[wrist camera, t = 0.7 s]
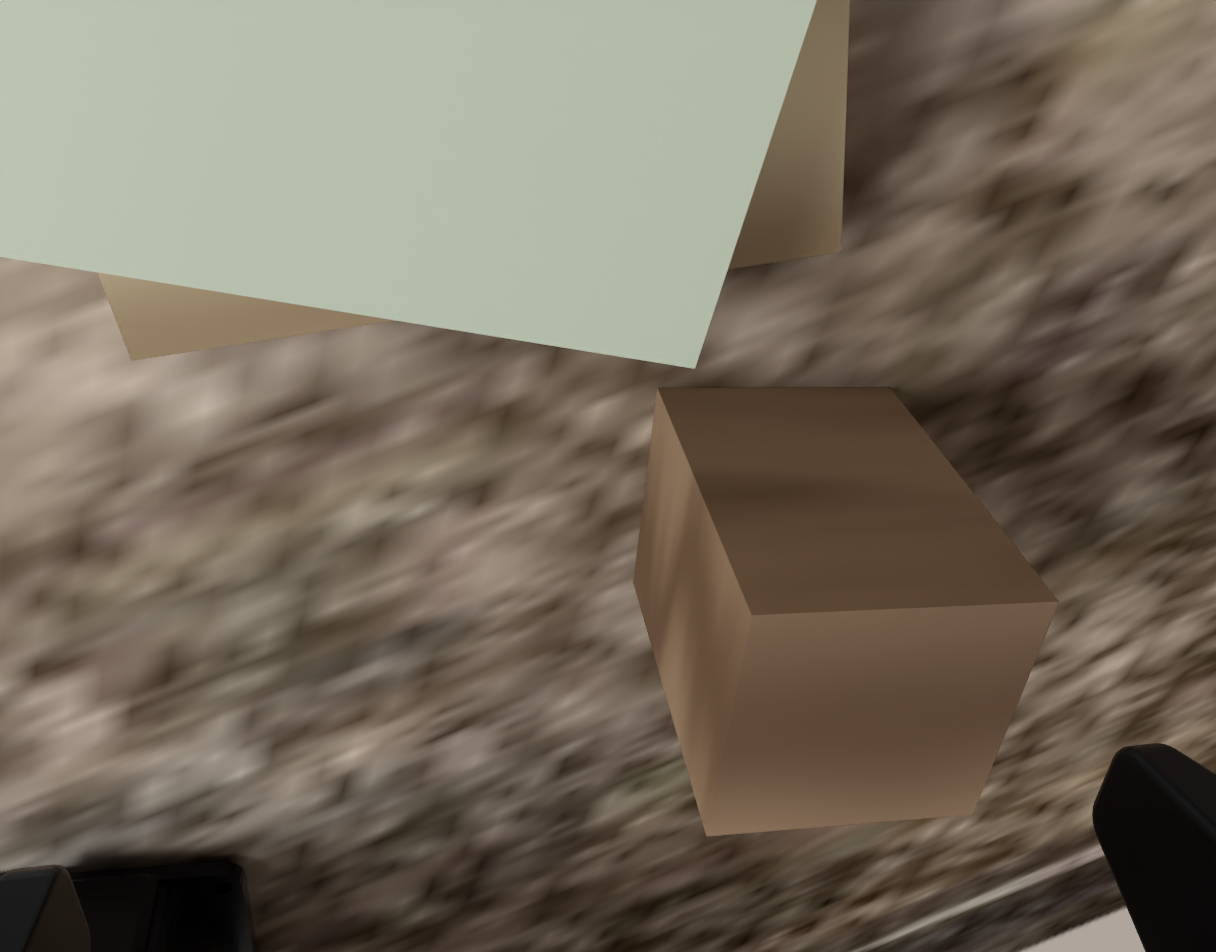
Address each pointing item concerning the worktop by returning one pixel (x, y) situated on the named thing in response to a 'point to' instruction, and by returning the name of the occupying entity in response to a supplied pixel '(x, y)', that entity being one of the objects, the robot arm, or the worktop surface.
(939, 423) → the worktop surface
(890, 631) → the walnut block
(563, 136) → the sage slab
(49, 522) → the worktop surface
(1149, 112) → the worktop surface
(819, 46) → the maple slab
